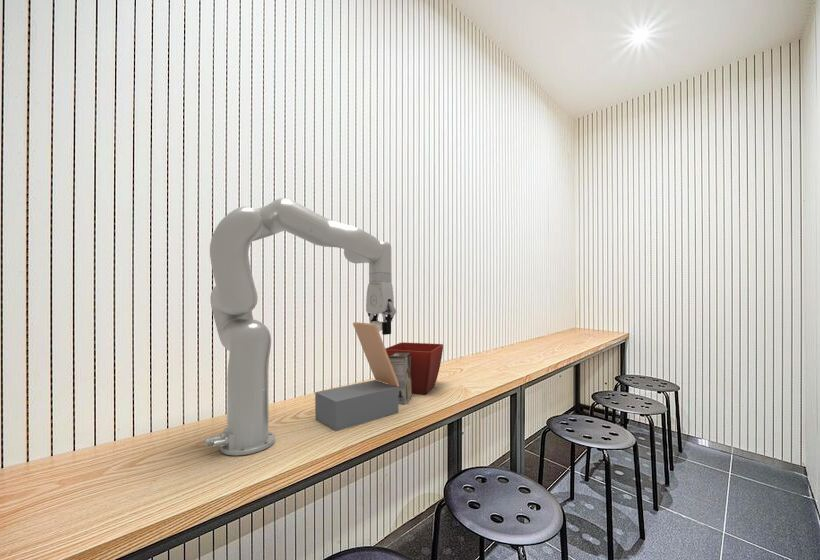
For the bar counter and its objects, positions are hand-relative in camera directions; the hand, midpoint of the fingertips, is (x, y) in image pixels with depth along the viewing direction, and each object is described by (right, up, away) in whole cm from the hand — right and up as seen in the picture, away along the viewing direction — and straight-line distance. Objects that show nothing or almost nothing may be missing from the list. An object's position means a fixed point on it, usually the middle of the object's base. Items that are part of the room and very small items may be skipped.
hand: (380, 333), depth 116 cm
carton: (-7, -25, -7) cm, 26 cm away
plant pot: (+12, -26, +23) cm, 36 cm away
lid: (-2, -7, -2) cm, 7 cm away
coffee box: (+6, -25, +9) cm, 28 cm away
